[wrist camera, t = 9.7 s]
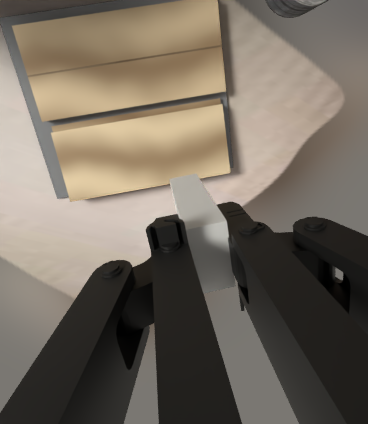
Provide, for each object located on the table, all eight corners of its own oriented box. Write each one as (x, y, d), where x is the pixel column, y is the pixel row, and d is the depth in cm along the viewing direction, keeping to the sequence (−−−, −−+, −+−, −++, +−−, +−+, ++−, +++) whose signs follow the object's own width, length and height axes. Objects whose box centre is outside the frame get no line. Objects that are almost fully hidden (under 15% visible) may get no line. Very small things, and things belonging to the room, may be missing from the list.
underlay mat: (-1, 18, 27) (-2, 18, 26) (215, -13, 28) (216, -15, 27) (58, 198, 33) (57, 198, 33) (232, 166, 34) (233, 167, 34)
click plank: (52, 126, 30) (48, 126, 29) (219, 98, 31) (221, 97, 30) (73, 199, 32) (70, 201, 31) (228, 171, 33) (230, 173, 32)
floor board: (17, 28, 27) (11, 25, 26) (214, -1, 28) (217, -5, 27) (46, 121, 30) (41, 121, 29) (223, 91, 31) (226, 91, 30)
